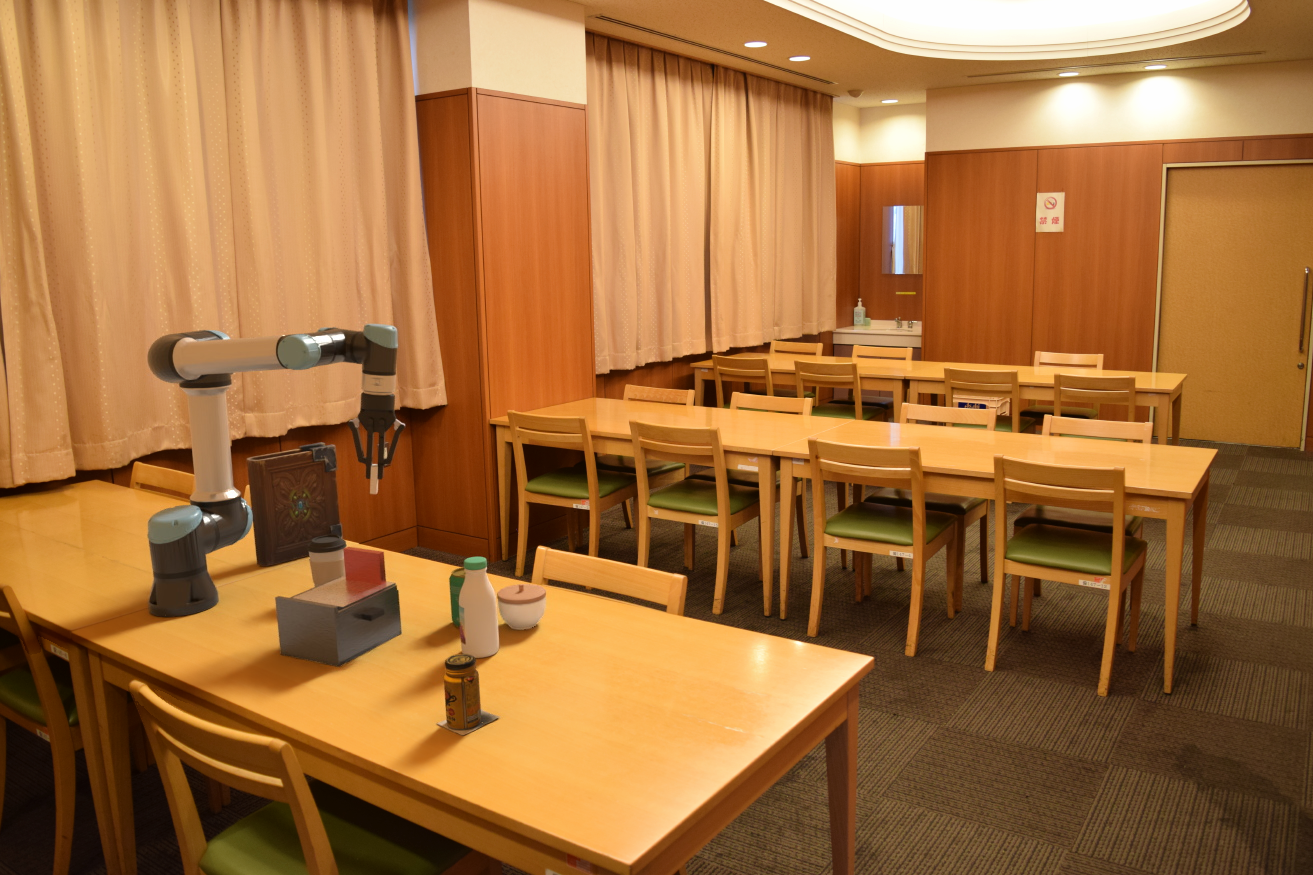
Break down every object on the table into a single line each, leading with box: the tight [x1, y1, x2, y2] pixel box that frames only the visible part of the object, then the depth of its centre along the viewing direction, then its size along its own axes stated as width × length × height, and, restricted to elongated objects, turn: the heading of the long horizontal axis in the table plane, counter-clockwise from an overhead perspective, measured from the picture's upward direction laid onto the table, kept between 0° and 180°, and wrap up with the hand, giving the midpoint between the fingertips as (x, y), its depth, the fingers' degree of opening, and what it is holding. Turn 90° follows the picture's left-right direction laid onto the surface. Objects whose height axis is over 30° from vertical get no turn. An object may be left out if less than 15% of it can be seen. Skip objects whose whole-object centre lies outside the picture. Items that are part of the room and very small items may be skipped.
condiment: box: [436, 653, 501, 736], centre depth 170 cm, size 7×8×12 cm
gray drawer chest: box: [274, 576, 402, 668], centre depth 206 cm, size 19×21×12 cm
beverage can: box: [448, 566, 466, 629], centre depth 217 cm, size 8×8×12 cm
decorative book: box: [246, 442, 344, 567], centre depth 268 cm, size 23×7×30 cm, turn 139°
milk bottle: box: [459, 556, 500, 659], centre depth 200 cm, size 8×8×20 cm
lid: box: [293, 546, 397, 611], centre depth 206 cm, size 16×14×8 cm
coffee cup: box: [307, 534, 348, 587], centre depth 236 cm, size 9×9×15 cm
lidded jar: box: [496, 583, 547, 631], centre depth 215 cm, size 11×11×9 cm
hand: (373, 492), depth 226 cm, fingers closed
